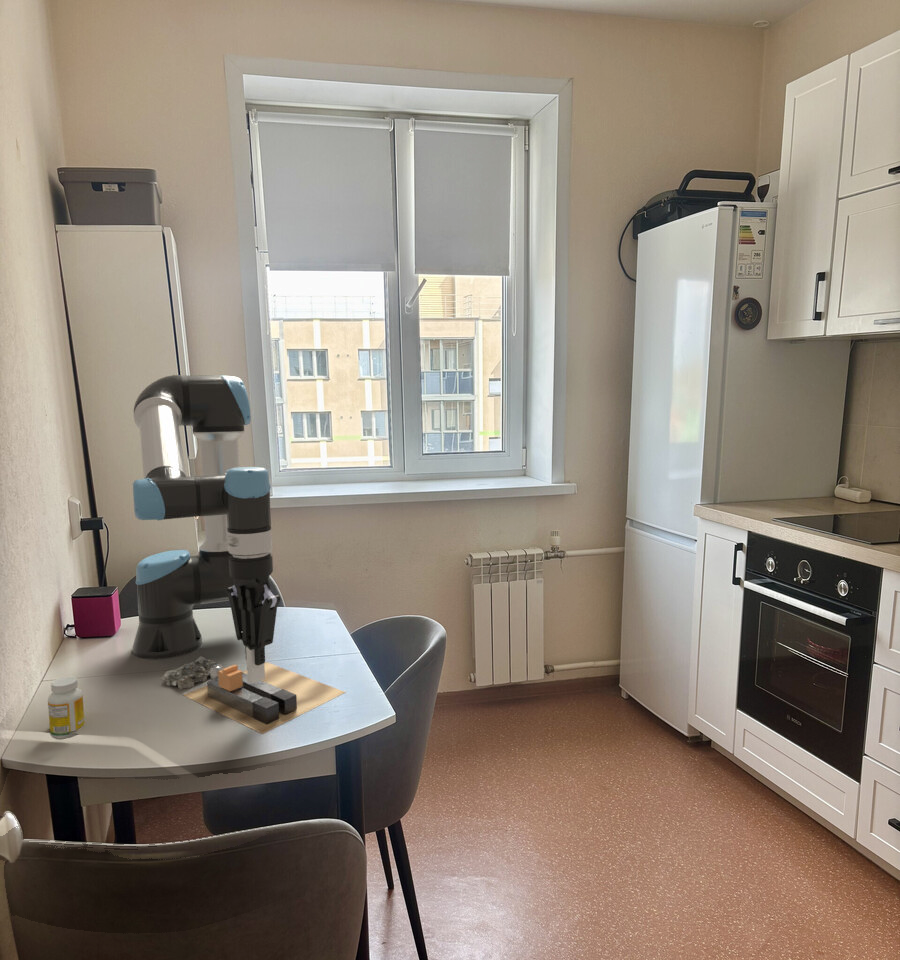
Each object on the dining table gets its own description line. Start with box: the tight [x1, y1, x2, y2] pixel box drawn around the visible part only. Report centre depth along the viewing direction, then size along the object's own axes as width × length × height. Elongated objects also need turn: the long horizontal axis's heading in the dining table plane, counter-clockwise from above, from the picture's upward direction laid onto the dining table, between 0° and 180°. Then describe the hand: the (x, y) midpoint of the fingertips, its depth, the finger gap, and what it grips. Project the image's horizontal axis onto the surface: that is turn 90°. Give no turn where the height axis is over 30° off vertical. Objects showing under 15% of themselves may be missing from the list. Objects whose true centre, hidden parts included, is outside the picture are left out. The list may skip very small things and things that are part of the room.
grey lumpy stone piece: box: [162, 656, 218, 690], centre depth 135 cm, size 11×8×4 cm
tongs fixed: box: [206, 664, 279, 725], centre depth 123 cm, size 22×5×4 cm, turn 53°
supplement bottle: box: [47, 676, 85, 740], centre depth 115 cm, size 5×5×10 cm
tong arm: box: [241, 671, 297, 715], centre depth 125 cm, size 18×3×3 cm, turn 52°
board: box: [182, 661, 346, 735], centre depth 128 cm, size 25×20×1 cm
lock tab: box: [218, 664, 243, 691], centre depth 123 cm, size 4×3×4 cm
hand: (256, 679), depth 118 cm, fingers closed
